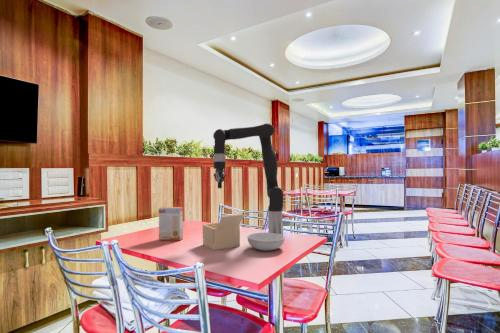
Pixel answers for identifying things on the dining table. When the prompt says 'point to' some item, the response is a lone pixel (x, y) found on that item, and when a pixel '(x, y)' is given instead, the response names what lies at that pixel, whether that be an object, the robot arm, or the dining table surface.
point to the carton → (220, 237)
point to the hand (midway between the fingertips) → (219, 188)
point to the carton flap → (230, 221)
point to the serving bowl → (266, 241)
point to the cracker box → (170, 223)
